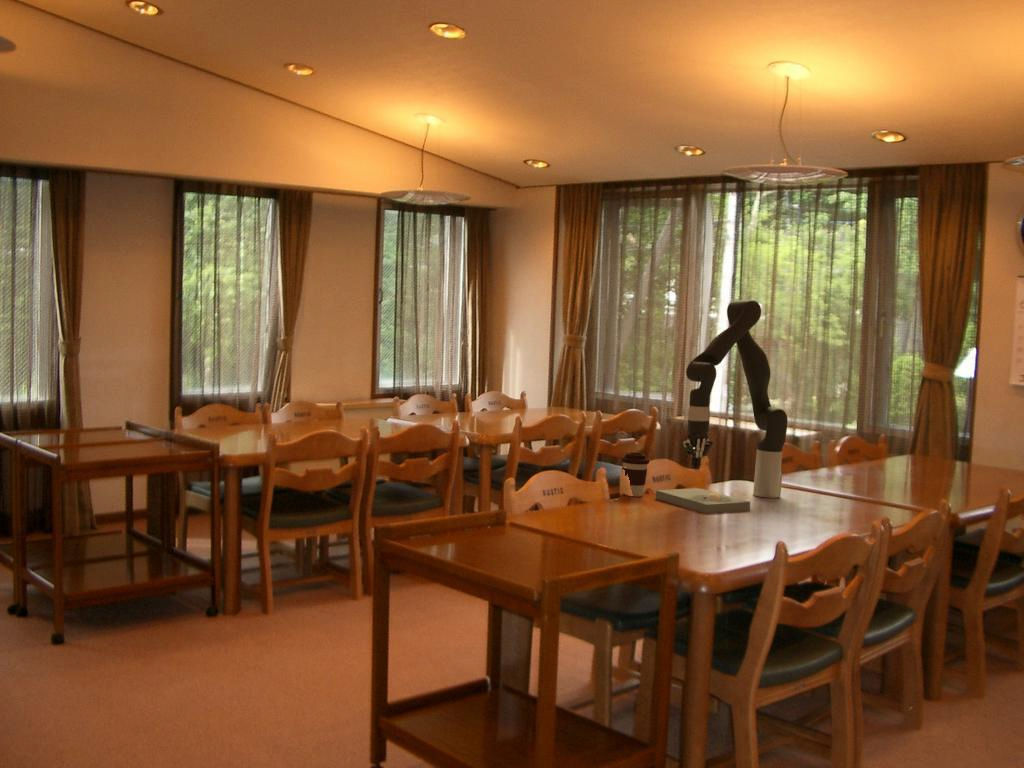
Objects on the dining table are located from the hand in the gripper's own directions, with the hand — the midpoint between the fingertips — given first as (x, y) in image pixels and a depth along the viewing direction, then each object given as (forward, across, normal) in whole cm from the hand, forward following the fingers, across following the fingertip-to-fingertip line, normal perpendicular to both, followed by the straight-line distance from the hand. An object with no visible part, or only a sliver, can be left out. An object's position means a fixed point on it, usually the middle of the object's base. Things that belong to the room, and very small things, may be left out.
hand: (696, 467), depth 366 cm
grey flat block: (+12, +1, +5) cm, 13 cm away
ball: (+10, 0, +10) cm, 14 cm away
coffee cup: (+12, +14, -16) cm, 25 cm away
